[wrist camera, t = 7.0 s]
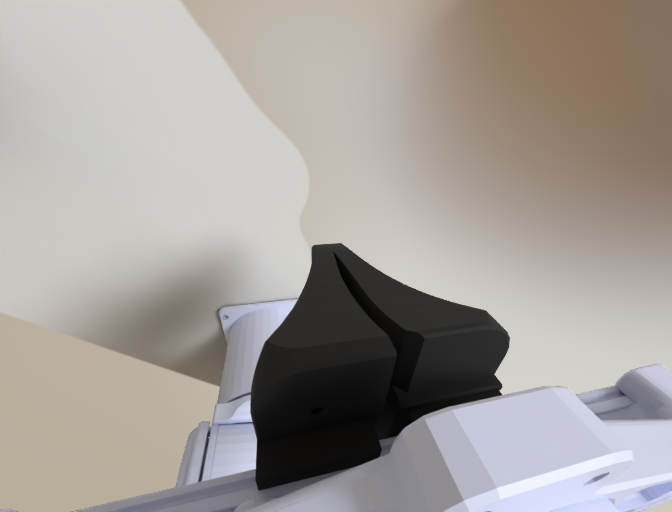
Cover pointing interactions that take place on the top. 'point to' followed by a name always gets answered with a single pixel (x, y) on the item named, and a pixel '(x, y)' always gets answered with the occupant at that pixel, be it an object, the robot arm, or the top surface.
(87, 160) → the top surface
